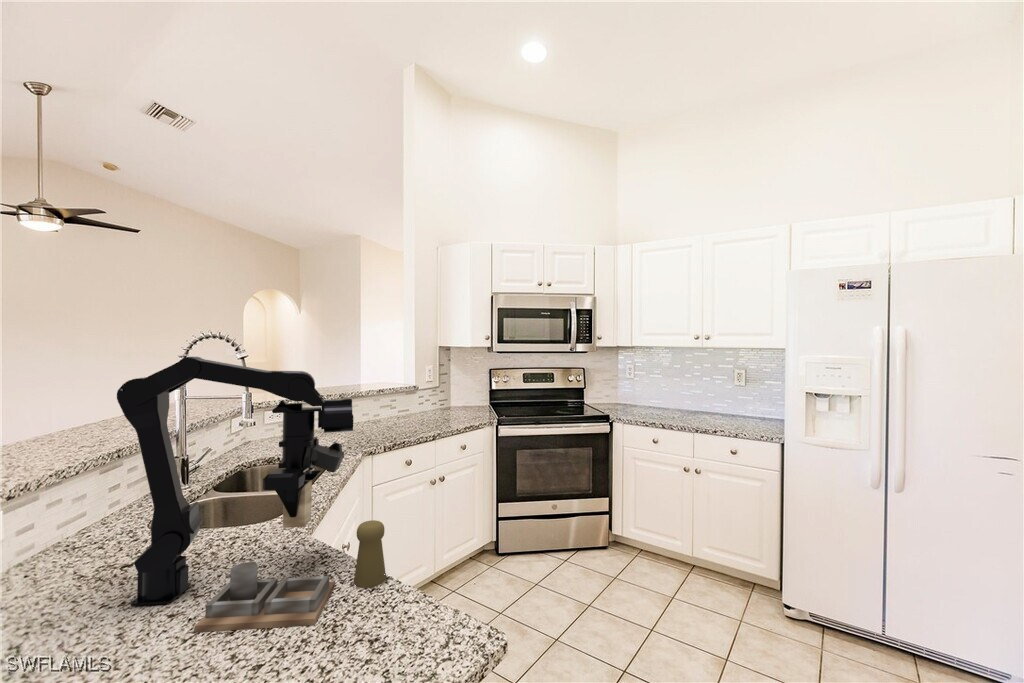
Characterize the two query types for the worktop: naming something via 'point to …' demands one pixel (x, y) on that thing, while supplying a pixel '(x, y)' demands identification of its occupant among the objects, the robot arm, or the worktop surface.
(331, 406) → the robot arm
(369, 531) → the olive green peg figure
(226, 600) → the board
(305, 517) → the maple pin
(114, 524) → the worktop surface
